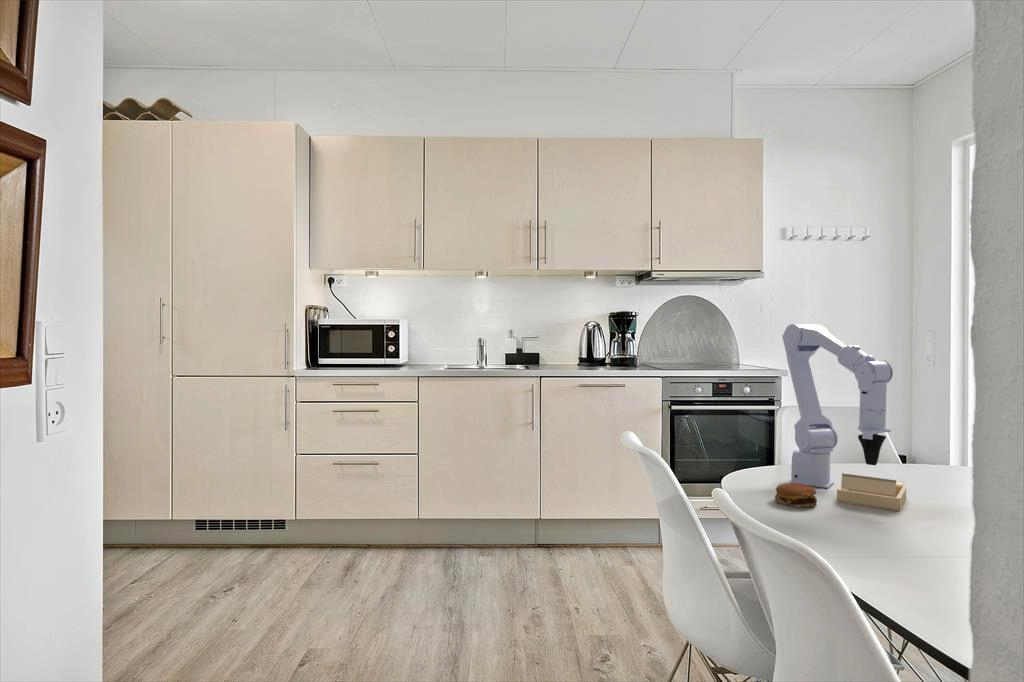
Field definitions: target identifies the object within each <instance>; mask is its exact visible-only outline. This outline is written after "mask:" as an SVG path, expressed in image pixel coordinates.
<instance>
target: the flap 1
mask: <svg viewBox="0 0 1024 682" xmlns="http://www.w3.org/2000/svg"><path fill="white" fill-rule="evenodd" d="M896 481H897V480H896V479H888V478H882V477H880V478H879V477H874V476H873V477H872V476H865V475H858V474H857V475H856V474H852V473H851V474H849V473H844V472H842V473H841V485H840V486H841V488H846V489H853V490H860V491H867V492H874V493H880V494H887V495H894V496H895V493H896Z"/></svg>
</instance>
